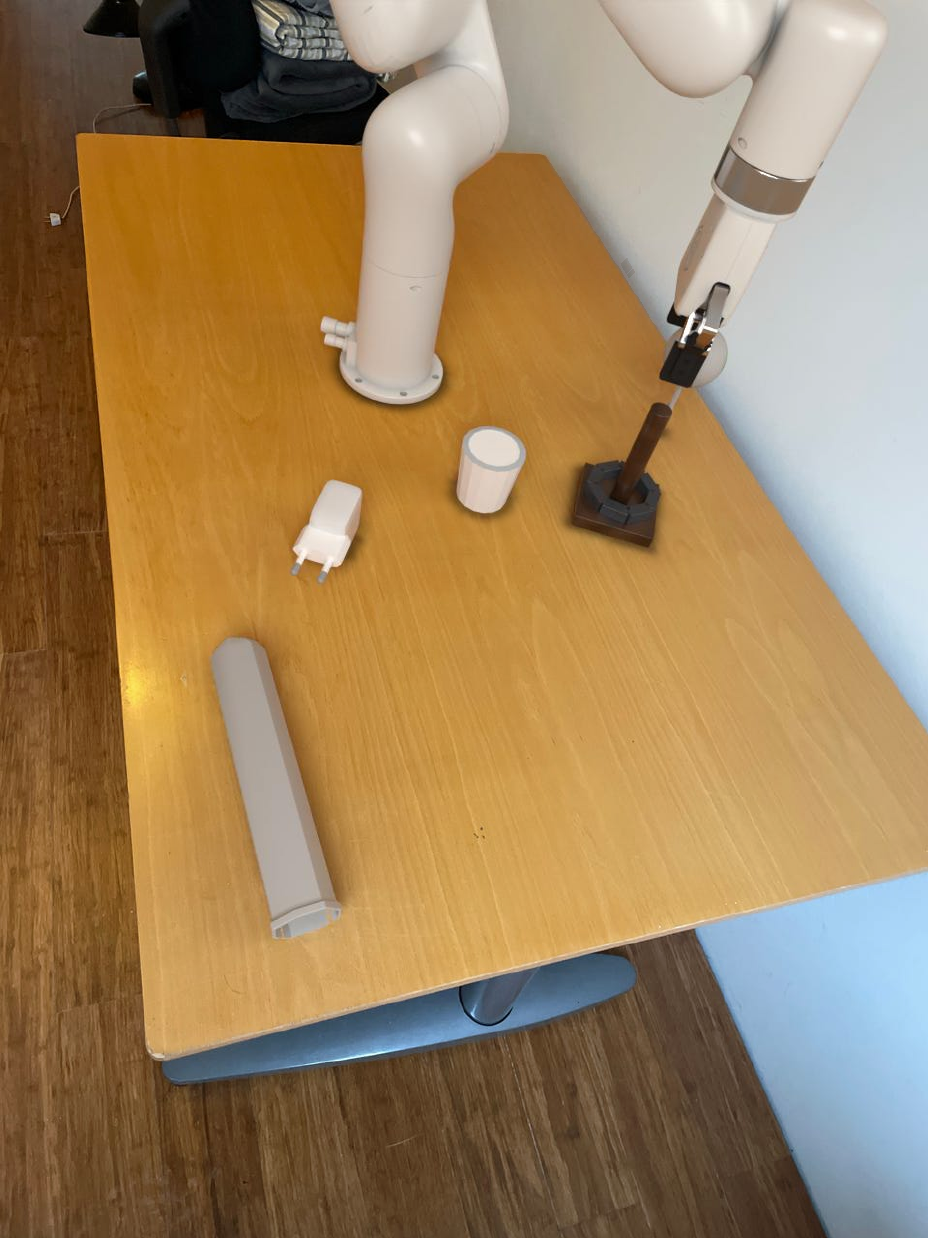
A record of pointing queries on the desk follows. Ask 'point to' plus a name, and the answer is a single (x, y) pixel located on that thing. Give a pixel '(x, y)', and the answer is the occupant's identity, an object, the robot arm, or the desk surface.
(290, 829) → the tube
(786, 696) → the desk surface
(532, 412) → the desk surface
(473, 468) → the shot glass
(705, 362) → the lollipop
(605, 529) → the post
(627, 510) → the ring
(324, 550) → the power adapter
